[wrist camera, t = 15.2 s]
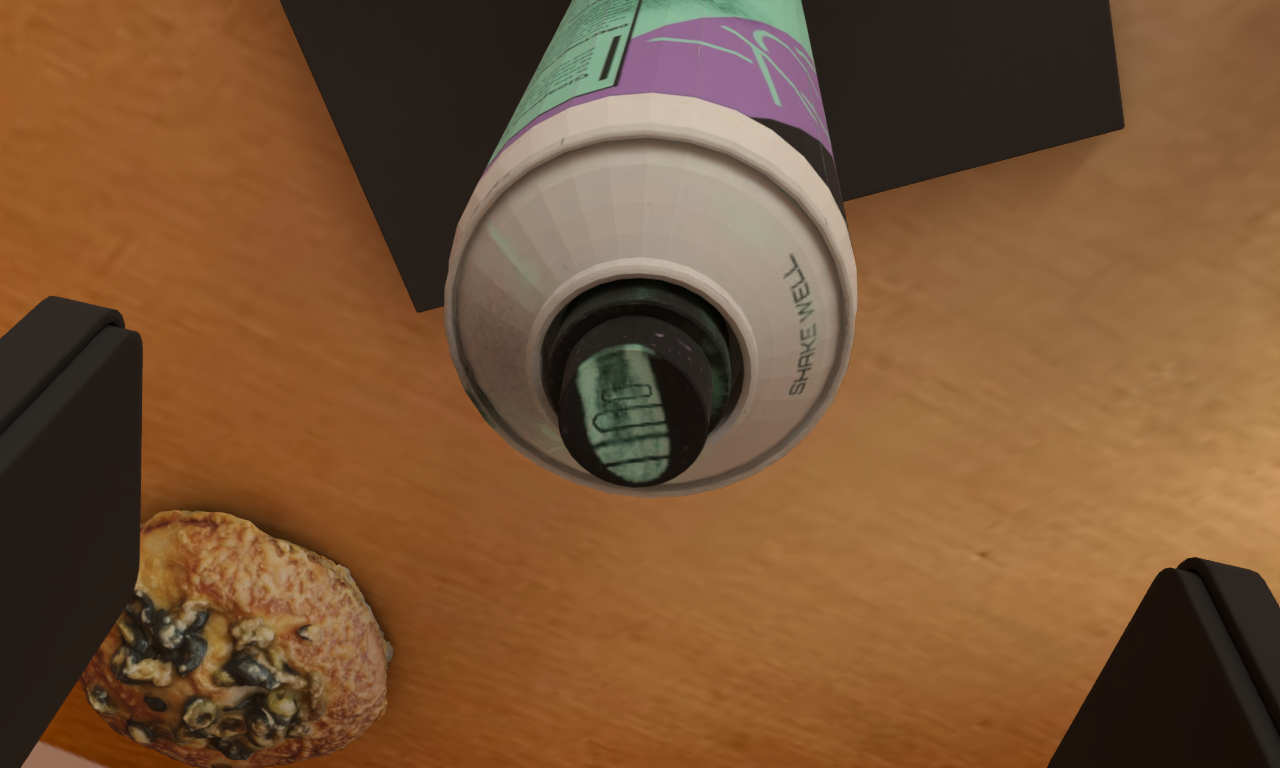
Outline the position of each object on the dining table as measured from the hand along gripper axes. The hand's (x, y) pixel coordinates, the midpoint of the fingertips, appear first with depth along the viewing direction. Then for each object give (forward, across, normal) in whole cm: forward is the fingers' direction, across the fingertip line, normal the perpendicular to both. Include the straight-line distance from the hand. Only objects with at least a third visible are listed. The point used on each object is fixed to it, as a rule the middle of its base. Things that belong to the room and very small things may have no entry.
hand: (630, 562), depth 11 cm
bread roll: (+23, +10, +25) cm, 36 cm away
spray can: (+23, 0, +1) cm, 23 cm away
